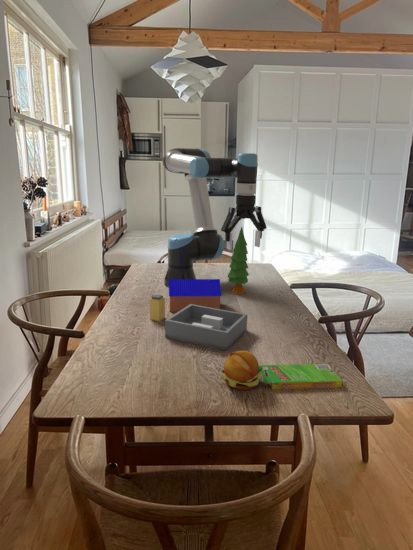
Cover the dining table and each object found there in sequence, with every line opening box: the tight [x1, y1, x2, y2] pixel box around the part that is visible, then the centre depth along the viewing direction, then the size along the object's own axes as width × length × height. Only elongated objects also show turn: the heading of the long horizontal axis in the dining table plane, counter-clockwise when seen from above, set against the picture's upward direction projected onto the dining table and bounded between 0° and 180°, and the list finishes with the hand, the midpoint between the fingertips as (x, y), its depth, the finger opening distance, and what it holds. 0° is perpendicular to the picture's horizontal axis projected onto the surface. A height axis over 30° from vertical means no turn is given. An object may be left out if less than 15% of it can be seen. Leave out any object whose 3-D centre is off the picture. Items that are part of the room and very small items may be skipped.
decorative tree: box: [227, 226, 250, 295], centre depth 182 cm, size 10×9×30 cm
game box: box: [260, 363, 343, 390], centre depth 112 cm, size 3×10×20 cm
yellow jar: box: [149, 294, 166, 322], centre depth 152 cm, size 4×4×9 cm
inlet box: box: [164, 304, 248, 351], centre depth 140 cm, size 22×18×6 cm
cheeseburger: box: [221, 350, 263, 391], centre depth 109 cm, size 10×11×10 cm
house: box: [168, 278, 222, 313], centre depth 165 cm, size 12×20×12 cm, turn 95°
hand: (243, 248), depth 167 cm, fingers open, 13 cm apart
